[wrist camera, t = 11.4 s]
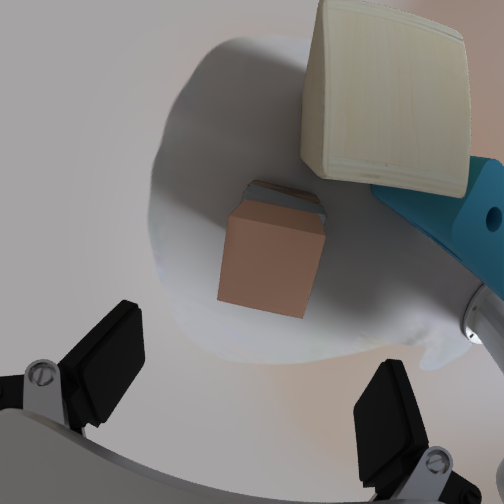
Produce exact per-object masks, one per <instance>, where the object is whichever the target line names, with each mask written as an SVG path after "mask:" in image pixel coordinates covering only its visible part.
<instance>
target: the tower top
mask: <svg viewBox="0 0 504 504" xmlns="http://www.w3.org/2000/svg"><path fill="white" fill-rule="evenodd" d="M245 199H247V200H252V201H258V202H263V203H268V204H273V205H278V206H283V207H287V208H292V209H297V210H301V211H306V212H311V213H315V214H318V215H319V217H320V220H321V223H322V226H323V227H324V224H325V221H326V218H327V215H326V213H325V211H324V209H323V207H322V205H319V204H316V203H313V202H309V201H306V200H303V199H300V198H297V197H294V196H291V195H288V194H284V193H281V192H278V191H275V190H271V189H268V188H265V187H261V186H258V185H254V184H251V185H250V186H249V187H248V188H246V189H245V190H244V193H243V196H242V200H241V203H242V202H243V201H244V200H245Z"/></svg>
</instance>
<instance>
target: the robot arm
mask: <svg viewBox="0 0 504 504" xmlns="http://www.w3.org/2000/svg"><path fill="white" fill-rule="evenodd" d="M463 328H464V333H465V335H466V337H467V338H468V340H469V341H470V342H472V343H474V344H482V343H483V345H484V346H485V347H486V349H487V350H488V352H489V353H490V354H491V356H492V357H493V359H494V360H495V362H496V363H497V365H498V366H499V368H500V369H501V371H502V372H503V374H504V301H503V300H502V299H500V298H499V297H498V296H497V295H496V294H495V293H494V292H493V291H492V290H491V289H490V288H489V287H488V286H487V285H486V284H483V285H482V286H481V287H480V288H479V290H478V291H477V292H476V293H475V295H474V297H473V298H472V300H471V302H470V304H469V305H468V308H467V310H466V313H465V317H464V323H463ZM144 362H145V351H144V339H143V326H142V311H141V309H140V308H138V305H137V304H136V303H133V302H130V301H127V300H122V301H121V302H120V303H119V304H118V305H117V306H116V307H115V308H114V309H113V310H112V311H110V312H109V313H108V314H107V315H106V316H105V317H104V318H103V319H102V320H101V321H100V322H99V323H98V324H97V325H96V326H95V327H94V328H93V329H92V330H91V331H90V332H89V333H88V334H87V335H86V336H85V337H84V338H83V339H82V340H81V341H80V342H79V343H78V344H77V345H76V346H75V347H74V348H73V349H72V350H71V351H70V352H69V353H68V354H67V355H66V356H65V357H64V358H63V359H62V360H61V361H60V362H59V363H58V364H57V365H56V364H55V363H53V362H52V361H50V360H46V359H41V360H36V361H34V362H32V363H31V364H30V365H29V366H28V367H27V369H26V370H25V374H24V375H13V376H2V377H0V504H481V500H482V496H481V492H480V490H479V488H477V487H476V486H475V485H474V484H472V483H470V482H469V481H467V480H466V479H464V478H463V477H461V476H460V475H458V474H457V473H455V472H454V471H452V467H453V459H452V457H451V455H450V453H449V452H448V451H447V450H446V449H444V448H442V447H440V446H433V447H430V448H429V445H428V443H429V441H428V438H427V434H426V431H425V427H424V424H423V421H422V417H421V414H420V411H419V408H418V405H417V402H416V399H415V396H414V393H413V390H412V387H411V384H410V381H409V379H408V376H407V373H406V370H405V368H404V365H403V363H402V361H401V360H395V359H387V360H386V361H385V362H382V363H381V364H380V366H379V367H378V369H377V371H376V372H375V374H374V376H373V377H372V379H371V381H370V382H369V384H368V386H367V387H366V389H365V390H364V392H363V393H362V395H361V397H360V398H359V400H358V401H357V403H356V404H355V406H354V411H353V414H354V422H355V432H356V442H357V453H358V466H359V478H360V481H363V488H365V487H366V488H367V487H375V494H374V495H373V496H372V498H371V499H370V500H369V501H368V502H343V503H321V502H299V501H287V500H278V499H269V498H262V497H255V496H249V495H244V494H238V493H233V492H229V491H224V490H219V489H215V488H211V487H208V486H204V485H200V484H196V483H193V482H190V481H186V480H183V479H180V478H177V477H174V476H171V475H168V474H165V473H162V472H159V471H157V470H154V469H152V468H149V467H147V466H144V465H141V464H139V463H137V462H134V461H132V460H130V459H128V458H125V457H123V456H121V455H119V454H117V453H115V452H113V451H111V450H108V449H106V448H104V447H102V446H100V445H98V444H96V443H95V442H92V441H91V440H89V439H87V438H86V435H85V430H84V427H85V426H86V424H87V423H90V424H91V425H93V426H95V427H97V428H98V427H99V425H100V424H101V423H105V422H106V421H107V419H108V418H109V416H110V415H111V413H112V412H113V410H114V409H115V407H116V406H117V404H118V403H119V401H120V400H121V398H122V397H123V395H124V394H125V392H126V391H127V389H128V388H129V386H130V385H131V383H132V382H133V380H134V379H135V377H136V376H137V374H138V373H139V371H140V370H141V368H142V367H143V365H144ZM496 484H497V488H498V492H499V494H500V497H501V499H502V501H503V503H504V459H503V460H502V462H501V463H500V465H499V467H498V470H497V474H496Z"/></svg>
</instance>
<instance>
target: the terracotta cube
mask: <svg viewBox="0 0 504 504" xmlns="http://www.w3.org/2000/svg"><path fill="white" fill-rule="evenodd" d="M325 239H326V234H325V231H324V228H323V226H322V223H321V220H320V217H319V215H318V214H315V213H311V212H306V211H301V210H297V209H292V208H287V207H283V206H278V205H273V204H268V203H263V202H258V201H252V200H247V199H245V200H244V201H243V202H242V203H241V204H240V205H239V206H238V207H237V208H236V209H235V210H234V211H233V212H232V213H231V214H230V215H229V216H228V223H227V230H226V237H225V244H224V252H223V259H222V266H221V274H220V282H219V290H218V298H217V300H219V301H223V302H227V303H231V304H236V305H240V306H245V307H249V308H254V309H258V310H263V311H268V312H272V313H277V314H282V315H287V316H292V317H297V318H302V319H303V316H304V313H305V309H306V306H307V303H308V300H309V296H310V293H311V290H312V286H313V283H314V279H315V276H316V272H317V269H318V265H319V262H320V258H321V254H322V251H323V247H324V243H325Z"/></svg>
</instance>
